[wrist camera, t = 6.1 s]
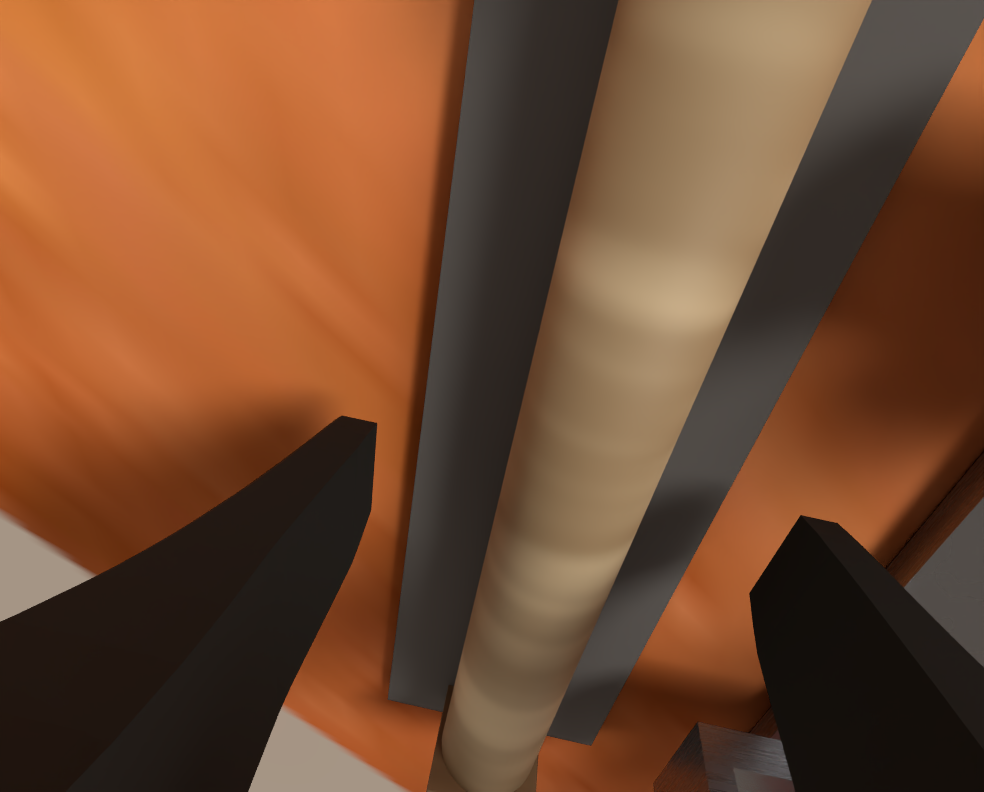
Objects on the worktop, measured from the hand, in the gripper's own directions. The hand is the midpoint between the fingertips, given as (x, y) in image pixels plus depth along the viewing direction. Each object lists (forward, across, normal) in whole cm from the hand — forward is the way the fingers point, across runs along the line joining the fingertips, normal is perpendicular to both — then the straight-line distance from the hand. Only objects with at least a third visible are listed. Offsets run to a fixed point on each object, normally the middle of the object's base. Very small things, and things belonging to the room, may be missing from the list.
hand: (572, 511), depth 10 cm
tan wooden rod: (+1, 0, 0) cm, 1 cm away
